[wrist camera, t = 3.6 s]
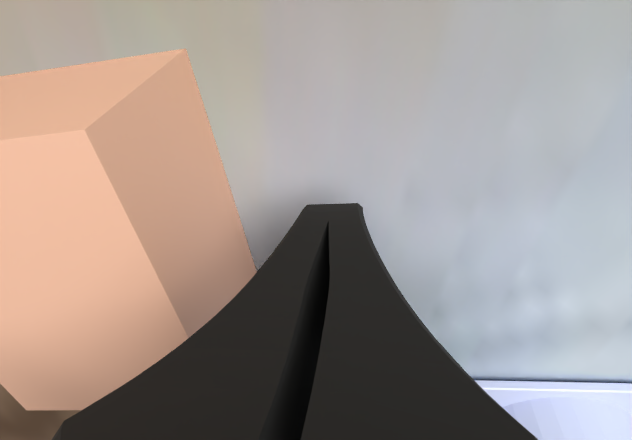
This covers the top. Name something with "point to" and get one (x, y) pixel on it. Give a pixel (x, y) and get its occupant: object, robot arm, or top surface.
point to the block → (108, 225)
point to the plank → (28, 420)
